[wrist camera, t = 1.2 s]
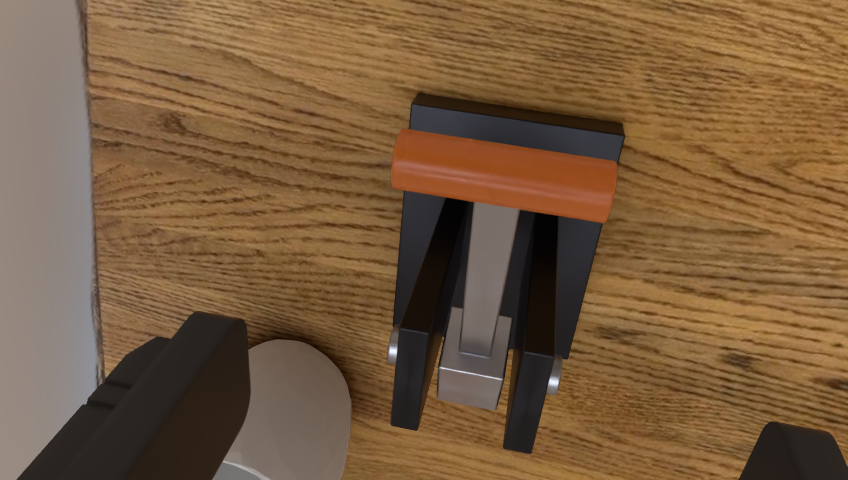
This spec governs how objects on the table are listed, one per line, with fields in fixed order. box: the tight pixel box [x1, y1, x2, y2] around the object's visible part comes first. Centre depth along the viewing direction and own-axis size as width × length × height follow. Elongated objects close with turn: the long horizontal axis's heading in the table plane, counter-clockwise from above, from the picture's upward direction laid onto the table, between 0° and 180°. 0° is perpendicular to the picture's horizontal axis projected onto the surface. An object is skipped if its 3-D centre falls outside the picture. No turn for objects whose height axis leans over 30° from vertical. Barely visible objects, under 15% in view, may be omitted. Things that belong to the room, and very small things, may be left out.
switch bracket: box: [387, 94, 625, 454], centre depth 27 cm, size 12×9×12 cm
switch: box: [391, 129, 617, 410], centre depth 20 cm, size 12×5×2 cm, turn 175°
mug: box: [212, 339, 351, 480], centre depth 36 cm, size 13×9×10 cm
